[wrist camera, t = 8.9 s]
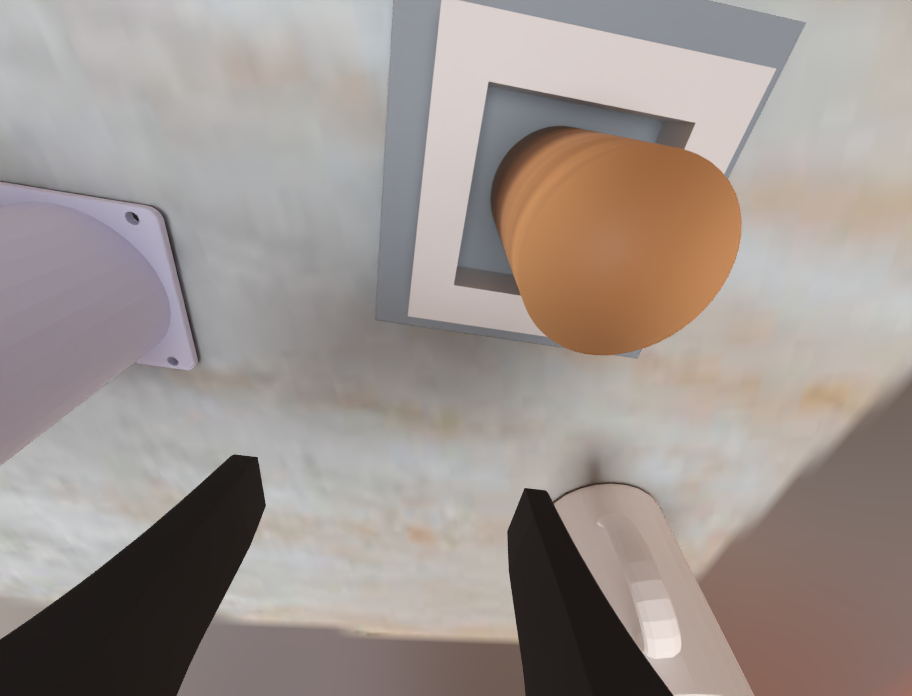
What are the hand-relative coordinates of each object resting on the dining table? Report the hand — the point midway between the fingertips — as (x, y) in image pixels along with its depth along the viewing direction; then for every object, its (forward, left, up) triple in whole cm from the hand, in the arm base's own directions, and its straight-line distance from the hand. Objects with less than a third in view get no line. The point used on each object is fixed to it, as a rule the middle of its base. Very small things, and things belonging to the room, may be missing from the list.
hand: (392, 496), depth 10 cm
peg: (+4, +7, -8) cm, 11 cm away
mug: (+13, -11, -10) cm, 20 cm away
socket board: (+4, +7, -9) cm, 12 cm away
